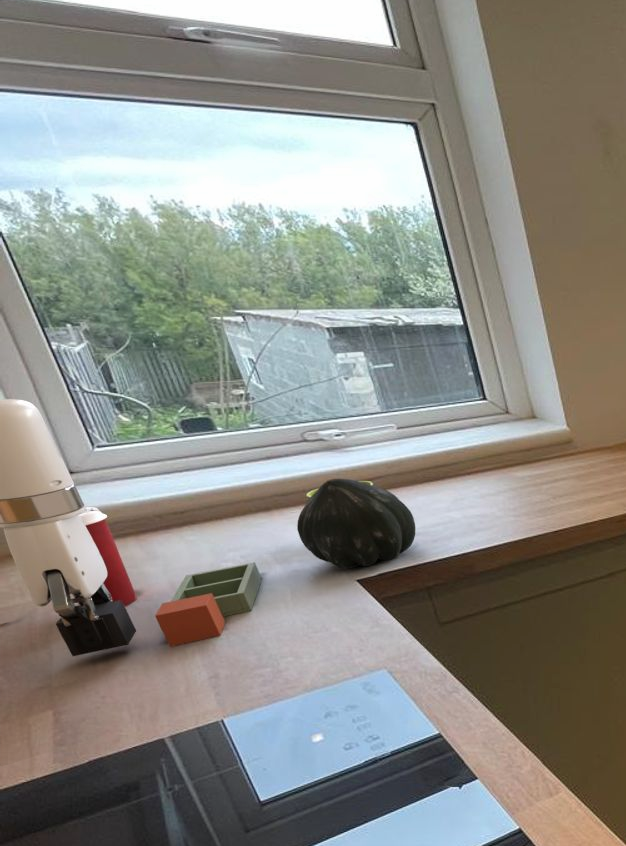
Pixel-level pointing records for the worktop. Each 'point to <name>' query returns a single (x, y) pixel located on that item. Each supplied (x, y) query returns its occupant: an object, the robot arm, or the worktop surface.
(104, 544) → the paper cup
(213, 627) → the pad terracotta
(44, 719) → the worktop surface
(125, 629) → the pad charcoal
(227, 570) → the green tray
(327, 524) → the squash
